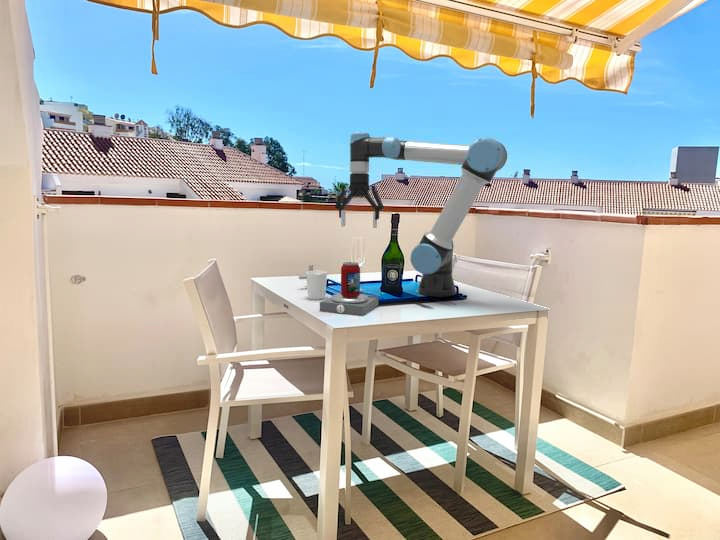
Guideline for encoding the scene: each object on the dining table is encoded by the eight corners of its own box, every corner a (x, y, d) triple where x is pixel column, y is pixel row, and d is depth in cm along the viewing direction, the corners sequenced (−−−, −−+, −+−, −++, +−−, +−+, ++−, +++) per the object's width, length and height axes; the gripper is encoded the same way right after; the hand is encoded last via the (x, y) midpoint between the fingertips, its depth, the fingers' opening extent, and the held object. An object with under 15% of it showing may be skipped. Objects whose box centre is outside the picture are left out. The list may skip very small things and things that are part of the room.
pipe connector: (296, 287, 212) (295, 263, 210) (318, 285, 216) (318, 262, 214) (303, 291, 203) (303, 267, 201) (326, 289, 207) (326, 266, 205)
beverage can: (353, 299, 171) (353, 265, 169) (337, 297, 175) (337, 263, 173) (363, 296, 177) (363, 262, 175) (347, 293, 181) (348, 261, 179)
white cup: (315, 294, 198) (315, 270, 196) (330, 297, 193) (331, 272, 191) (302, 298, 191) (302, 272, 190) (317, 301, 187) (317, 275, 185)
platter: (373, 297, 180) (373, 294, 180) (360, 305, 168) (360, 302, 168) (340, 294, 184) (340, 291, 184) (325, 301, 172) (325, 298, 172)
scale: (378, 305, 181) (378, 296, 181) (362, 316, 166) (362, 306, 165) (338, 301, 187) (338, 292, 186) (318, 311, 172) (318, 301, 171)
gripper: (392, 173, 194) (391, 227, 198) (334, 173, 203) (334, 225, 206) (386, 172, 187) (385, 229, 191) (326, 172, 196) (326, 226, 200)
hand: (358, 227), depth 199 cm, fingers open, 13 cm apart
